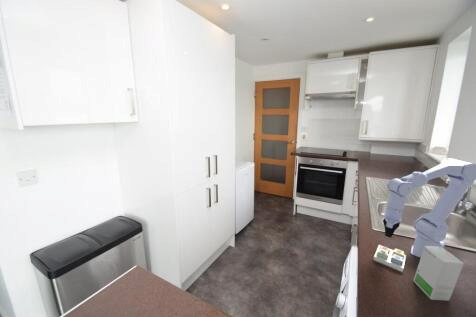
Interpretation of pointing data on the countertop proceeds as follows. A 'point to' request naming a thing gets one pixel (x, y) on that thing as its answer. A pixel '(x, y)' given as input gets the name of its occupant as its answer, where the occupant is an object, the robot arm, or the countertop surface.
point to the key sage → (382, 254)
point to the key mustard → (398, 252)
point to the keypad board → (389, 260)
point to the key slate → (397, 259)
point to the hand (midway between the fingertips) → (388, 236)
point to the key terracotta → (384, 248)
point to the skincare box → (437, 273)
